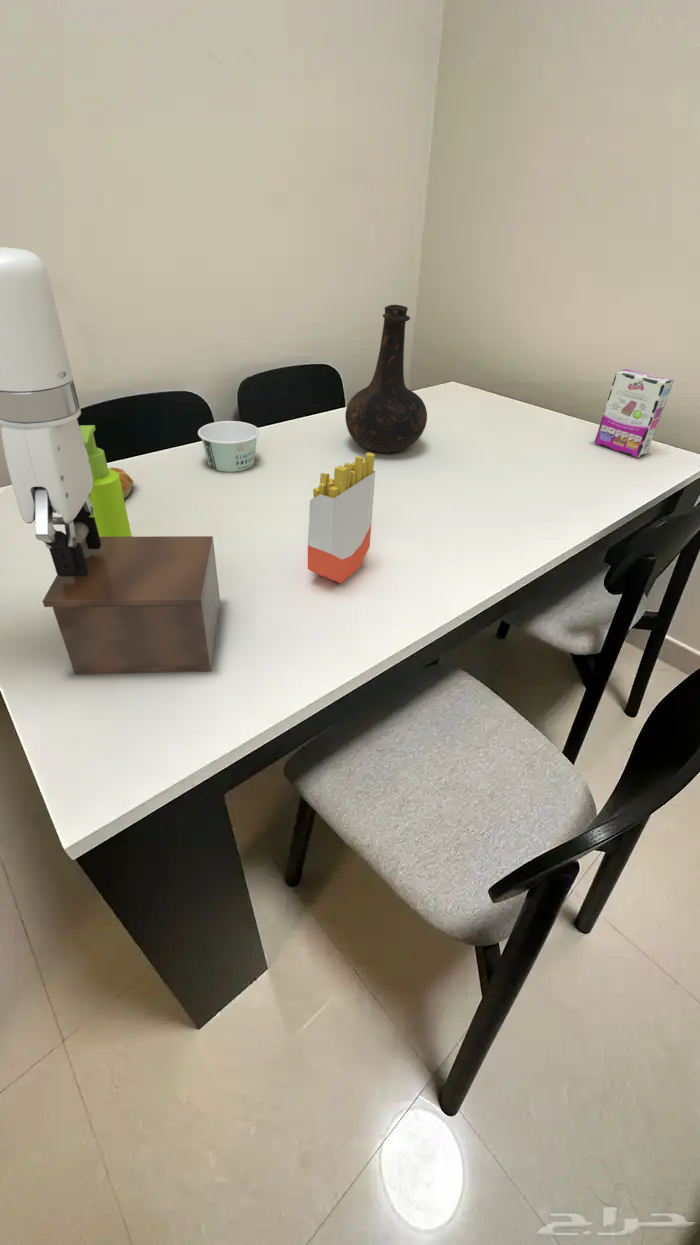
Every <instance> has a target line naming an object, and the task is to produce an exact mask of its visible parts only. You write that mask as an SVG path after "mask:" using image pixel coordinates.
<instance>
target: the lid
mask: <svg viewBox="0 0 700 1245" xmlns="http://www.w3.org/2000/svg"><path fill="white" fill-rule="evenodd" d="M74 529H75V536H76V543H81V546H82V550H83V554H84V557H85V561H86V565H87V568H88V574H87V575H86V576H75V577H61V576H58V575H57V574H56V576H55V578H54V580H53V582H52V583H51V585H50V587H49V589H48V590H47V592H46V594H45V596H44V598H43V599H42V604H43V607H44V608H53V607H81V606H146V605H201V604H202V599H203V594H204V589H205V583H206V578H207V573H208V567H209V562H210V557H211V551H212V546H213V543H214V536H213V535H202V536H200V535H197V536H196V535H194V536H193V535H192V536H191V535H190V536H189V535H187V536H186V535H185V536H183V535H181V536H179V535H178V536H177V535H176V536H175V535H174V536H173V535H172V536H170V535H168V536H166V535H165V536H164V535H163V536H162V535H161V536H157V535H155V536H152V535H151V536H132V537H100V541H101V547H100V548H99V549H88V545H87V541H86V537H87V535H88V533H89V529H88V527H87V526H86V525H85V524H84V523H81V522H78V523H75V524H74Z"/></svg>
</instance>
